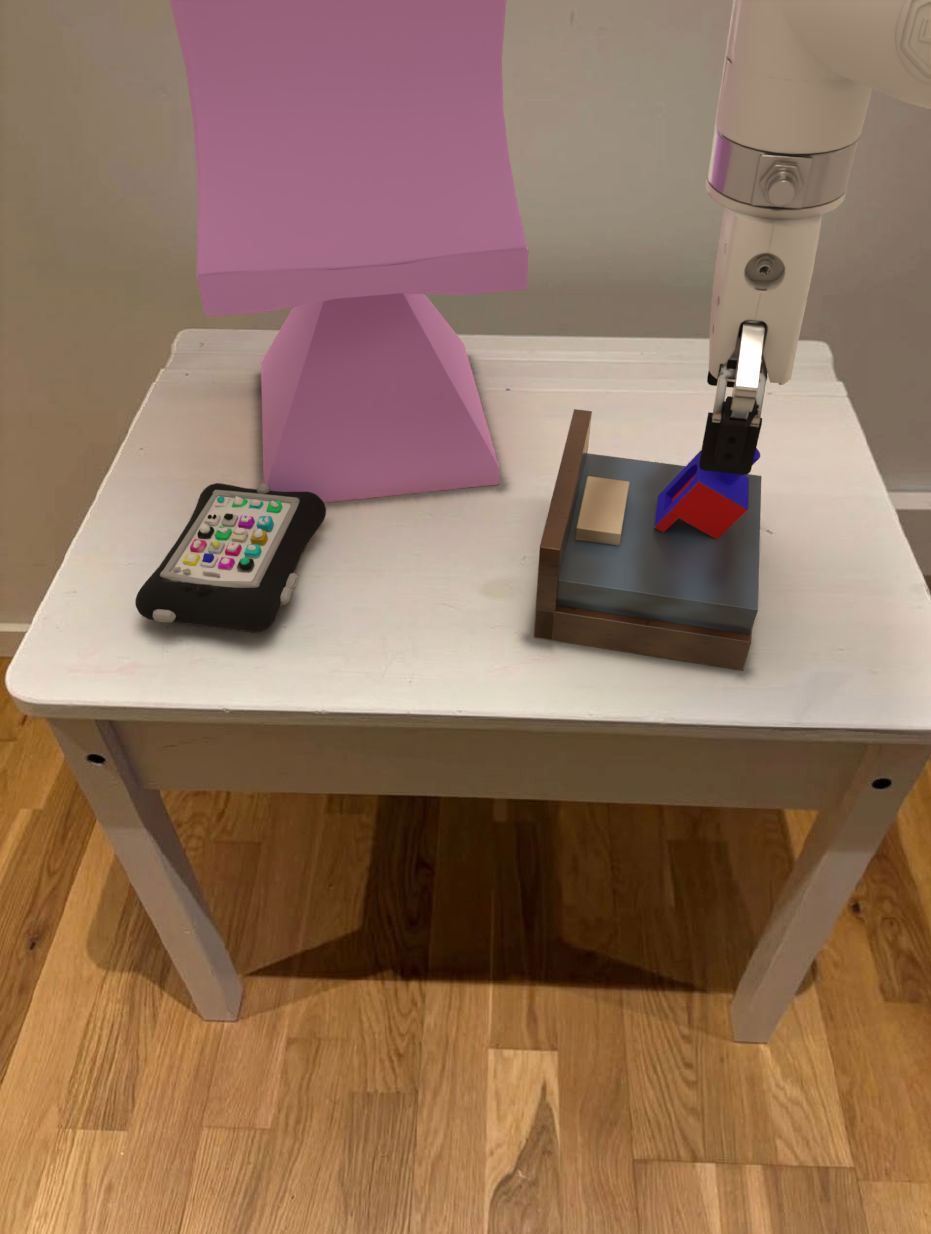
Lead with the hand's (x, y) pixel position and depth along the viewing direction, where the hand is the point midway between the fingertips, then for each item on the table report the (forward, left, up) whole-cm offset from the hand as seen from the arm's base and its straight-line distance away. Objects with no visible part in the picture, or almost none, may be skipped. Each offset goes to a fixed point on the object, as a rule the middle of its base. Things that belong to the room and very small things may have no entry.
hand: (727, 425), depth 66 cm
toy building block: (0, 0, -9) cm, 9 cm away
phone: (+34, +7, -14) cm, 38 cm away
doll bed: (+3, +1, -14) cm, 15 cm away
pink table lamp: (+29, -13, -14) cm, 35 cm away
